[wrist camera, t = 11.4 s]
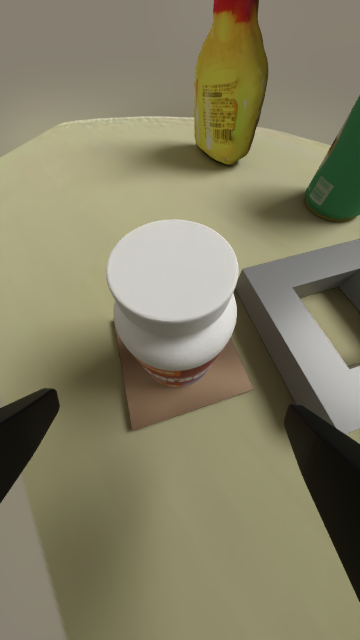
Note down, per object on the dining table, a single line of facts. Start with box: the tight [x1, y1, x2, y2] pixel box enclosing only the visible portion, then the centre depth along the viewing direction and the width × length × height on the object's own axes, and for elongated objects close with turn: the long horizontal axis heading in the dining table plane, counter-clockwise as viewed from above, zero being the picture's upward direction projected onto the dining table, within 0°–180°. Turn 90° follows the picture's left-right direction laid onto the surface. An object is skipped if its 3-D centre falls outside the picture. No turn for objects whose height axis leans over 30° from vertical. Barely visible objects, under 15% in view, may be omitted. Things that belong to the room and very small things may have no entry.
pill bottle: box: [106, 219, 238, 387], centre depth 11 cm, size 6×6×11 cm
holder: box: [235, 239, 360, 434], centre depth 17 cm, size 14×14×3 cm
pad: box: [115, 326, 253, 431], centre depth 17 cm, size 10×10×1 cm
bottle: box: [194, 0, 268, 165], centre depth 23 cm, size 12×6×20 cm, turn 35°
